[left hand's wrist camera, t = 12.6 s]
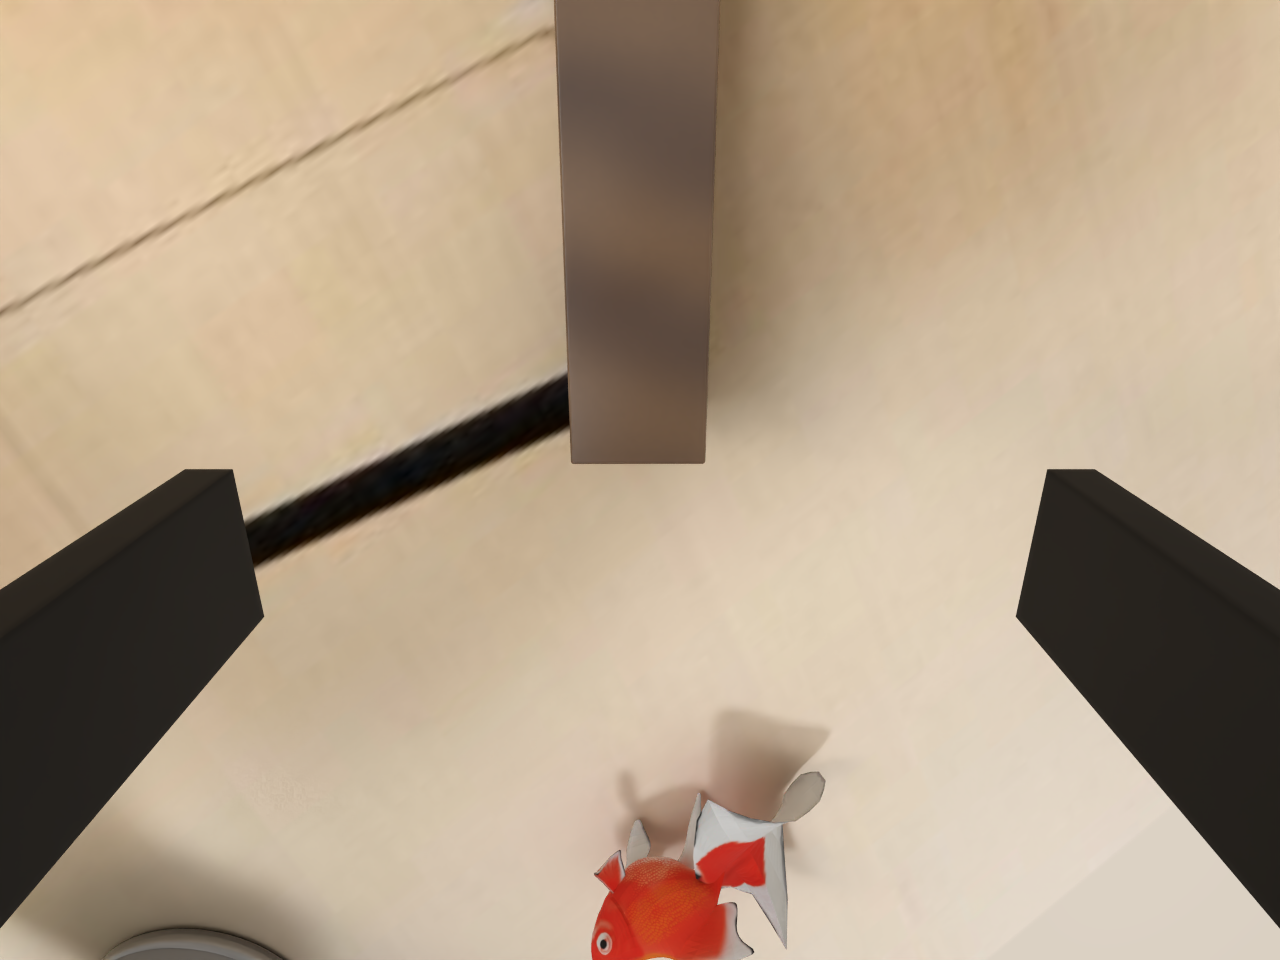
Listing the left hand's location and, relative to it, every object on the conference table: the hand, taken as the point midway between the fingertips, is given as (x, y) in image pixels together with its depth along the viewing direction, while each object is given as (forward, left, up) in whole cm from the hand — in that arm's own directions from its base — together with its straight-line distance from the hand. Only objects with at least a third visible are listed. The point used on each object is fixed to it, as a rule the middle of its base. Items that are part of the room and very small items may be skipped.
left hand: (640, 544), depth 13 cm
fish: (-28, -10, -24) cm, 38 cm away
